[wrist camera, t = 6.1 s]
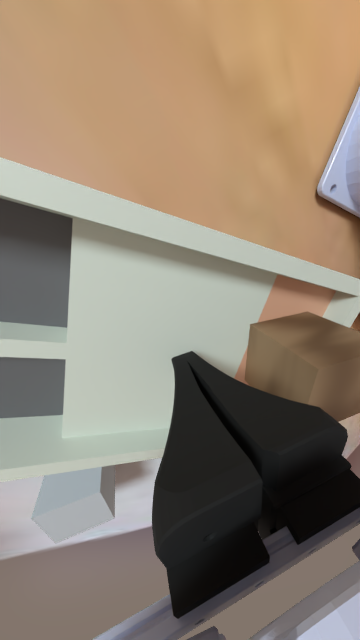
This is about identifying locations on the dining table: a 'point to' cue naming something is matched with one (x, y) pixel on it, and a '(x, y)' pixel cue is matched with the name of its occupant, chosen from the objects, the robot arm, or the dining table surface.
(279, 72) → the dining table surface
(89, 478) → the grey block
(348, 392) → the walnut block
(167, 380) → the tray
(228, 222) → the dining table surface
